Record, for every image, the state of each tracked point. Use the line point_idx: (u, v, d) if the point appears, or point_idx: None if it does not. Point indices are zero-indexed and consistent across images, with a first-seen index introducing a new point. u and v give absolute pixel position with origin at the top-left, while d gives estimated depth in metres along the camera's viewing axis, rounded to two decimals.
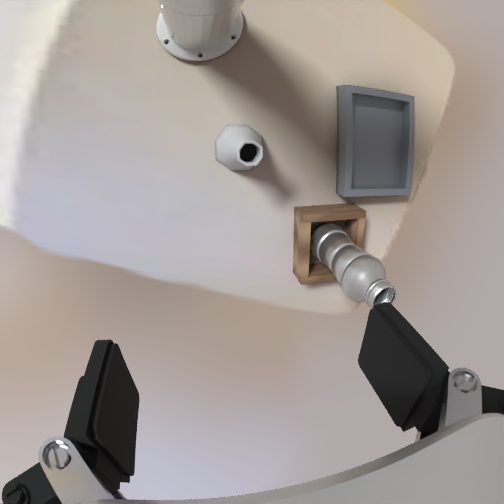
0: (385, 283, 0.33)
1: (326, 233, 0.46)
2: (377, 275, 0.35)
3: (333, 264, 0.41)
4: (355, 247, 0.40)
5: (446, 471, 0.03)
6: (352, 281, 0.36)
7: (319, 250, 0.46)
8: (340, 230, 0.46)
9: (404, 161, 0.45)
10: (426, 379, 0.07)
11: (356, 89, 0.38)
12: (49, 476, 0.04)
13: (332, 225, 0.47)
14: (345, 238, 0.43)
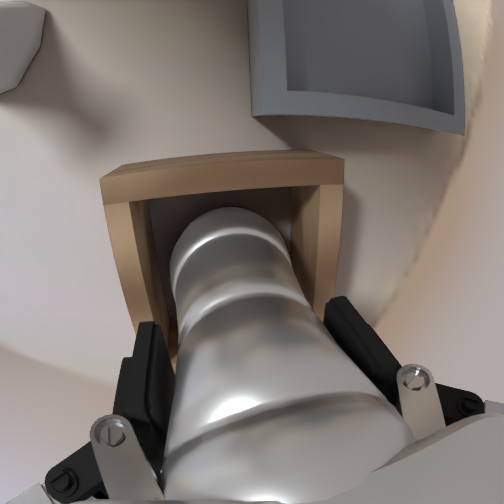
0: None
1: (197, 238, 0.13)
2: None
3: None
4: (274, 314, 0.08)
5: (446, 471, 0.03)
6: None
7: (175, 297, 0.13)
8: (251, 228, 0.13)
9: (441, 49, 0.13)
10: (372, 374, 0.07)
11: None
12: (96, 451, 0.05)
13: (230, 212, 0.15)
14: (253, 259, 0.11)
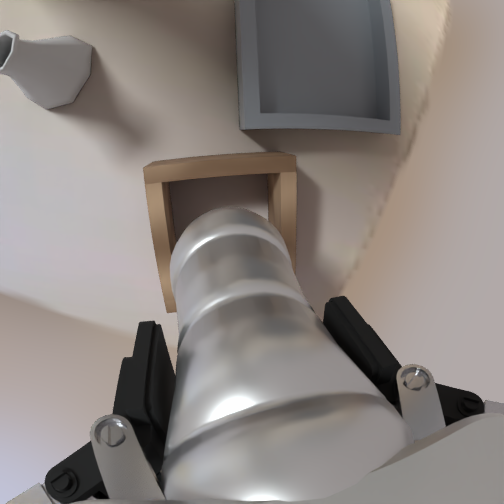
0: None
1: (197, 238, 0.13)
2: None
3: None
4: (274, 314, 0.08)
5: (446, 471, 0.03)
6: None
7: None
8: (251, 228, 0.14)
9: (382, 70, 0.21)
10: (372, 373, 0.07)
11: None
12: (96, 451, 0.05)
13: (230, 212, 0.15)
14: (253, 259, 0.11)
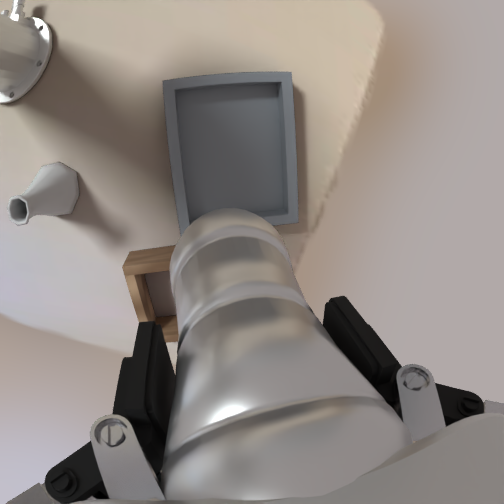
0: None
1: (197, 240, 0.13)
2: None
3: None
4: (273, 316, 0.08)
5: (446, 471, 0.03)
6: None
7: None
8: (251, 229, 0.14)
9: (284, 172, 0.34)
10: (372, 373, 0.07)
11: (181, 82, 0.27)
12: (96, 451, 0.05)
13: (230, 213, 0.15)
14: (253, 261, 0.11)
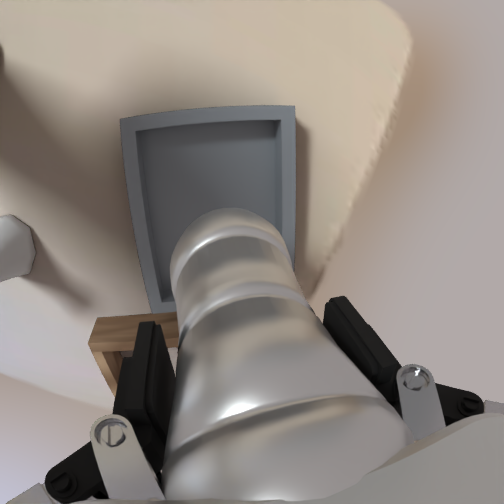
0: None
1: (198, 239, 0.13)
2: None
3: None
4: (274, 315, 0.08)
5: (446, 471, 0.03)
6: None
7: None
8: (252, 228, 0.13)
9: None
10: (372, 373, 0.07)
11: (144, 121, 0.20)
12: (96, 451, 0.05)
13: (231, 212, 0.15)
14: (254, 260, 0.11)
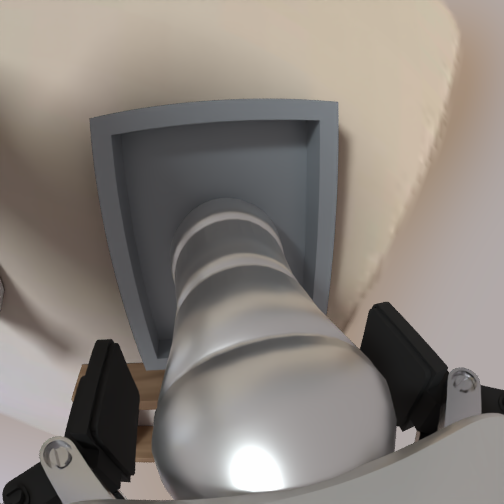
0: None
1: (195, 224, 0.15)
2: None
3: None
4: (259, 278, 0.09)
5: (446, 471, 0.03)
6: (171, 490, 0.05)
7: None
8: (244, 214, 0.15)
9: (309, 279, 0.21)
10: (425, 379, 0.07)
11: (123, 121, 0.14)
12: (49, 475, 0.04)
13: (226, 201, 0.16)
14: (245, 239, 0.12)
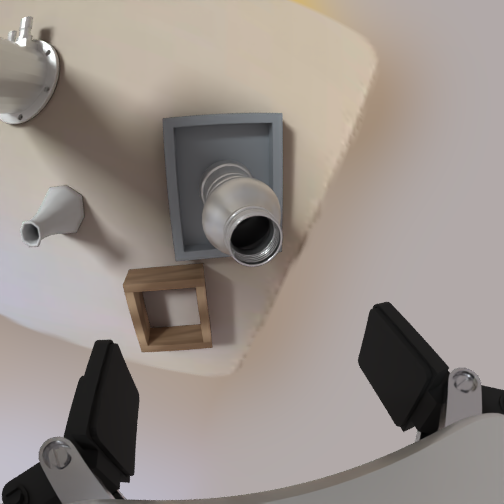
0: (255, 210, 0.19)
1: (213, 168, 0.32)
2: (252, 202, 0.21)
3: None
4: (239, 175, 0.26)
5: (446, 471, 0.03)
6: (209, 215, 0.22)
7: (203, 192, 0.32)
8: (236, 164, 0.32)
9: None
10: (426, 379, 0.07)
11: (179, 121, 0.31)
12: (48, 476, 0.04)
13: (227, 160, 0.33)
14: (235, 170, 0.30)
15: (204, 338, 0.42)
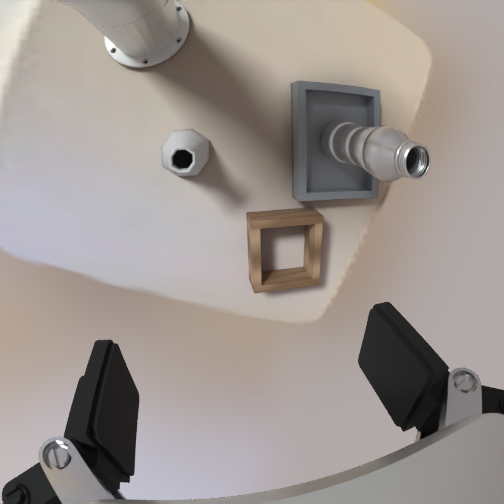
0: (416, 143, 0.25)
1: (339, 124, 0.37)
2: (405, 141, 0.27)
3: (351, 145, 0.33)
4: None
5: (446, 471, 0.03)
6: (376, 146, 0.28)
7: (333, 141, 0.38)
8: None
9: None
10: (426, 379, 0.07)
11: (310, 85, 0.37)
12: (48, 476, 0.04)
13: (345, 120, 0.39)
14: (361, 126, 0.35)
15: (314, 275, 0.48)
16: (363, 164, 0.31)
